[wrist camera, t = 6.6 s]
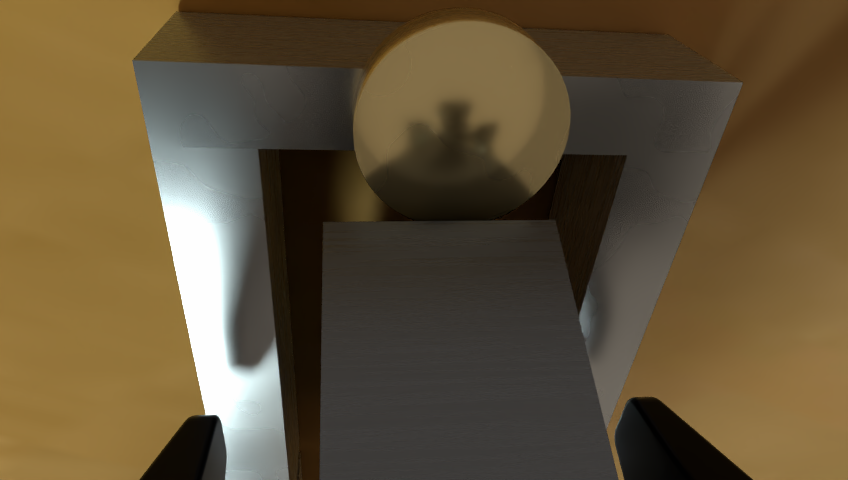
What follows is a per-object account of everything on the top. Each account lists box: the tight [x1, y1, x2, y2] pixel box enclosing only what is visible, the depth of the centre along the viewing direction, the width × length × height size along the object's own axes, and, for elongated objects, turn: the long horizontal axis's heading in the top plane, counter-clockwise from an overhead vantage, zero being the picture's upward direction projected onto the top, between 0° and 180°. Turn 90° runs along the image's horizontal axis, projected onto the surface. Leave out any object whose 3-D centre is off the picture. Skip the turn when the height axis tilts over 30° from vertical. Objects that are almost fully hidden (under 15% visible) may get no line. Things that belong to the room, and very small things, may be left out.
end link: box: [132, 8, 743, 480], centre depth 10 cm, size 10×7×3 cm
